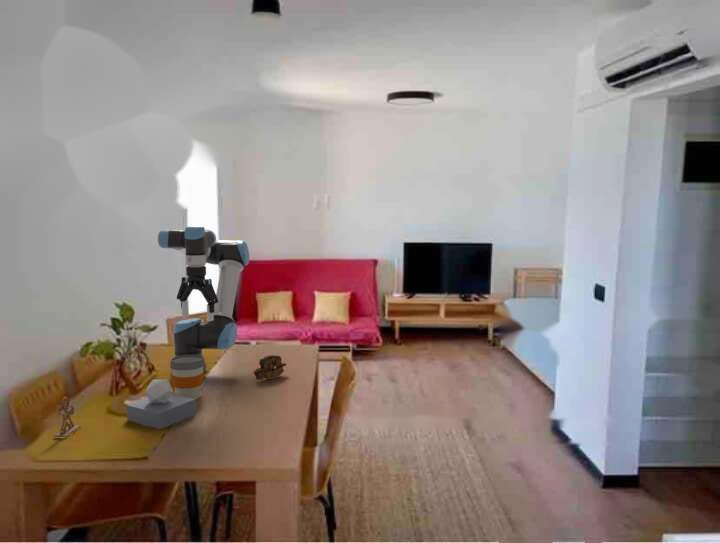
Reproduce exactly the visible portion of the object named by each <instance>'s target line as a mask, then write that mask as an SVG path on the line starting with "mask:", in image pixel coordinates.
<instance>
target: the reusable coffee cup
mask: <svg viewBox="0 0 720 543" xmlns="http://www.w3.org/2000/svg"><path fill="white" fill-rule="evenodd" d="M203 357H204V355H203V356H200V355H181V356H177V357H175V356H173V357H172V358H170V366H169V367H170V370H171V369H172V373H171V374H170V375H171V376H170V377H171V381H172V386H173V387H174V391H175V392H174V394H175V395H180V396H184V397H188V398H192V399H195V400H197V399H199V398H201V393H202V386H203V383H204V377H205V376H204V374H205V372H204V371H203V366H204V360H205V357H204V358H203Z"/></svg>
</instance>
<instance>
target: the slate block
mask: <svg viewBox="0 0 720 543" xmlns="http://www.w3.org/2000/svg"><path fill="white" fill-rule="evenodd" d="M196 407H197V406H196V399H192V398H188V397H184V396H180V395H176V393H172V395H171V396H170V398H169V399H168V401H167V402H166V404H151V403H150V401H149V399H148V397H147V396H146V397H145V398H142V399H140V400H136V401H134V402H131V403H127V404H126V421H127V420H130V421H129V422H131V421H133V422H132V423H134V422H136V423H135V424H138V423H139V425H141V424H142V426H145V425H146V426H145V427H148V426H150V427H149V428H152V427H153V429H155V428H157V429H156V430H159V429H160V430H162V429H164V428H163V427H165V428H167V427H169V426H172V425H174V424H176V423H179V422H181V421H183V420H186V419H188V418H190V417H193V416H196V414H197V412H196ZM171 424H172V425H171ZM168 425H169V426H168ZM166 426H167V427H166ZM161 428H162V429H161Z"/></svg>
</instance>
